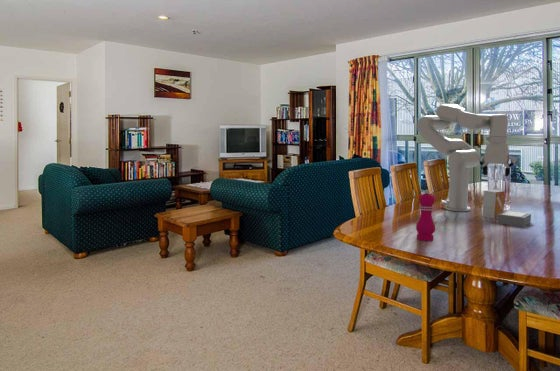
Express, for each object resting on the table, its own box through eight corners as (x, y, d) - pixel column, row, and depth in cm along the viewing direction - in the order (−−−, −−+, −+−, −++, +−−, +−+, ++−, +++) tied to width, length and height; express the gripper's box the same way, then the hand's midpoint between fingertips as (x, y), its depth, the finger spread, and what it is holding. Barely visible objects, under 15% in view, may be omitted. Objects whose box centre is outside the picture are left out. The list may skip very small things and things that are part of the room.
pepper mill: (418, 236, 176) (420, 187, 173) (436, 238, 172) (439, 189, 169) (413, 239, 170) (415, 190, 167) (431, 242, 166) (434, 191, 163)
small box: (494, 218, 207) (496, 192, 205) (481, 216, 212) (483, 190, 210) (503, 216, 211) (505, 190, 209) (491, 214, 216) (492, 189, 214)
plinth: (497, 222, 198) (497, 214, 197) (504, 219, 206) (505, 210, 205) (523, 226, 190) (524, 217, 190) (530, 222, 198) (531, 213, 198)
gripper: (476, 140, 209) (474, 175, 212) (515, 140, 198) (513, 177, 200) (481, 139, 215) (480, 173, 217) (519, 140, 203) (517, 176, 205)
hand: (495, 175), depth 208 cm, fingers open, 9 cm apart
